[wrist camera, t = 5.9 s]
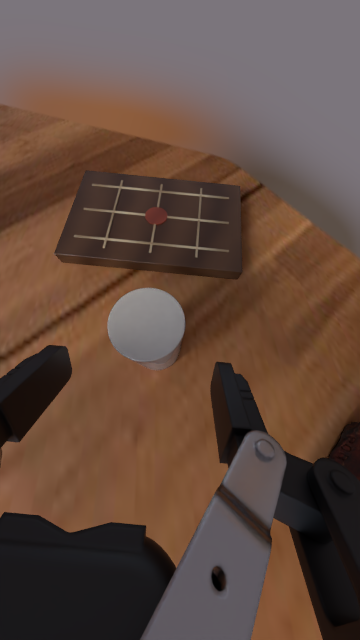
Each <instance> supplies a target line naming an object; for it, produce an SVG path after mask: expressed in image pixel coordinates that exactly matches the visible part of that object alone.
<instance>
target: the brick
mask: <svg viewBox="0 0 360 640" xmlns="http://www.w3.org/2000/svg"><path fill="white" fill-rule="evenodd" d="M329 459H331V460H334V461H336V462H338V463H340V464H341V465H343V466H344V467H345V468H347V469H348V470H349V471H350V472H351V473H353V474H354V475H355V477H356V478H357V479H358V480H359V481H360V422H351V423H350V424H348V425H347V426H346V427H345V429H344V432H342V435H341V438H340V441H339V443H338V444H337V445H336V447H335V448H334V449H333V450H332V452H331V454H330V457H329Z"/></svg>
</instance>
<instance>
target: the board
mask: <svg viewBox="0 0 360 640" xmlns="http://www.w3.org/2000/svg"><path fill="white" fill-rule="evenodd" d="M54 254H55V255H56V256H57V257H58V258H59V259H60V260H61V261H62V262H65V263H75V264H85V265H96V266H106V267H116V268H126V269H136V270H147V271H157V272H167V273H177V274H187V275H198V276H208V277H218V278H228V279H238V278H239V276H240V275H241V273H242V242H241V200H240V186H236V185H226V184H216V183H206V182H196V181H186V180H176V179H166V178H156V177H146V176H136V175H126V174H116V173H106V172H96V171H85V174H84V176H83V179H82V182H81V184H80V187H79V190H78V192H77V195H76V198H75V200H74V203H73V205H72V208H71V211H70V213H69V216H68V219H67V221H66V224H65V227H64V229H63V232H62V234H61V237H60V240H59V242H58V245H57V248H56V250H55V253H54Z"/></svg>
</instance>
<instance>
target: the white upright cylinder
mask: <svg viewBox="0 0 360 640" xmlns="http://www.w3.org/2000/svg"><path fill="white" fill-rule="evenodd" d="M184 331H185V316H184V312H183V310H182V307H181V306H180V304H179V303H178V301H177V300H176V299H175V298H174V297H173V296H171V295H170V294H168V293H167V292H165V291H162V290H159V289H155V288H141V289H137V290H134V291H131V292H129V293H127V294H126V295H124V296H123V297H122V298H120V299H119V300H118V301H117V303H116V304H115V305H114V307H113V308H112V310H111V312H110V315H109V318H108V335H109V338H110V341H111V343H112V344H113V346H114V347H115V349H116V350H117V351H118V352H119V353H121V354H122V355H123V356H125V357H127V358H129V359H131V360H133V361H135V362H137V363H139V364H140V365H142V366H144V367H146V368H149V369H152V370H162V369H166V368H168V367H170V366H171V365H172V364H173V363H174V362H175V361H176V360H177V358H178V356H179V353H180V349H181V344H182V340H183V335H184Z"/></svg>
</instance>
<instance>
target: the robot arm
mask: <svg viewBox="0 0 360 640" xmlns="http://www.w3.org/2000/svg"><path fill="white" fill-rule="evenodd" d="M71 374H72V367H71V362H70V358H69V353H68V349H67V348H66V347H65V346H55V345H48V346H47V347H45V348H44V349H43V350H42V351H40V352H39V353H38V354H35V355H33V356H31V357H29V358H27V359H25V360H23V361H22V362H21V363H20V364H18V365H17V366H16V367H15V369H12V370H11V371H9V372H8V373H7V375H4V376H3V377H2V378H0V466H1V459H2V449H1V447H2V446H3V445H4V443H5V442H6V441H10V442H20V441H21V439H22V438H23V437H24V436H25V434H26V433H27V432H28V431H29V429H30V428H31V427H32V426H33V424H34V423H35V422H36V421H37V419H38V418H39V417H40V416H41V414H42V413H43V412H44V411H45V409H46V408H47V407H48V406H49V405H50V403H51V402H52V401H53V400H54V398H55V397H56V396H57V395H58V393H59V392H60V391H61V390H62V388H63V387H64V386H65V385H66V383H67V382H68V381H69V379H70V377H71ZM211 401H212V408H213V415H214V423H215V430H216V437H217V444H218V452H219V459H220V463H227V464H228V468H229V469H228V471H227V473H226V475H225V477H224V479H223V481H222V483H221V484H220V486H219V487H218V489H217V490H216V492H215V494H214V496H213V498H212V500H211V502H210V504H209V506H208V508H207V510H206V512H205V513H204V515H203V517H202V519H201V521H200V523H199V525H198V527H197V529H196V531H195V533H194V535H193V537H192V539H191V541H190V543H189V545H188V547H187V549H186V551H185V553H184V555H183V557H182V559H181V561H180V563H179V564H178V566H177V568H176V567H175V565H174V563H173V562H172V560H171V559H170V557H169V556H168V554H167V553H166V552H165V551H164V550H163V549H162V548H161V546H159V545H158V544H157V543H156V542H155V541H153V540H152V539H150V538H148V537H147V536H146V526H144V525H133V524H123V523H112V522H111V523H107V524H103V525H99V526H96V527H92V528H88V529H84V530H81V531H77V532H72V533H69V532H66V531H64V530H63V529H61V528H59V527H58V526H56V525H54V524H53V523H51V522H49V521H47V520H46V519H44V518H42V517H41V516H39V515H29V514H18V513H8V512H4V513H3V515H2V516H1V518H0V640H251V635H252V631H253V627H254V622H255V618H256V613H257V609H258V605H259V600H260V596H261V592H262V587H263V583H264V579H265V574H266V570H267V565H268V561H269V557H270V551H271V545H272V538H271V536H270V530H271V525H272V521H273V518H275V519H277V520H278V521H280V522H282V523H284V524H286V525H288V526H289V528H290V532H291V535H292V538H293V542H294V545H295V548H296V552H297V555H298V558H299V562H300V565H301V568H302V572H303V575H304V578H305V582H306V585H307V588H308V592H309V595H310V598H311V602H312V605H313V608H314V612H315V615H316V618H317V622H318V625H319V628H320V632H321V635H322V638H323V640H360V481H359V480H358V479H357V478H356V477H355V475H354V474H353V473H351V472H350V471H349V470H348V469H347V468H345V467H344V466H343V465H341V464H340V463H338V462H336V461H334V460H331V459H328V458H320V459H318V460H317V461H316V462H315V463H314V464H312V463H310V462H307V461H305V460H303V459H300V458H298V457H296V456H293V455H291V454H289V453H287V452H285V451H284V450H283V449H282V447H281V446H280V444H279V443H278V442H277V441H276V440H275V439H274V438H273V437H272V436H270V435H269V434H268V432H267V430H266V428H265V425H264V423H263V420H262V418H261V415H260V413H259V410H258V407H257V405H256V402H255V400H254V397H253V395H252V393H251V390H250V387H249V384H248V382H247V381H246V380H245V379H244V377H243V376H242V375H241V374H235V373H234V370H233V367H232V365H231V363H224V362H216V364H215V368H214V372H213V377H212V381H211Z"/></svg>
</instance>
